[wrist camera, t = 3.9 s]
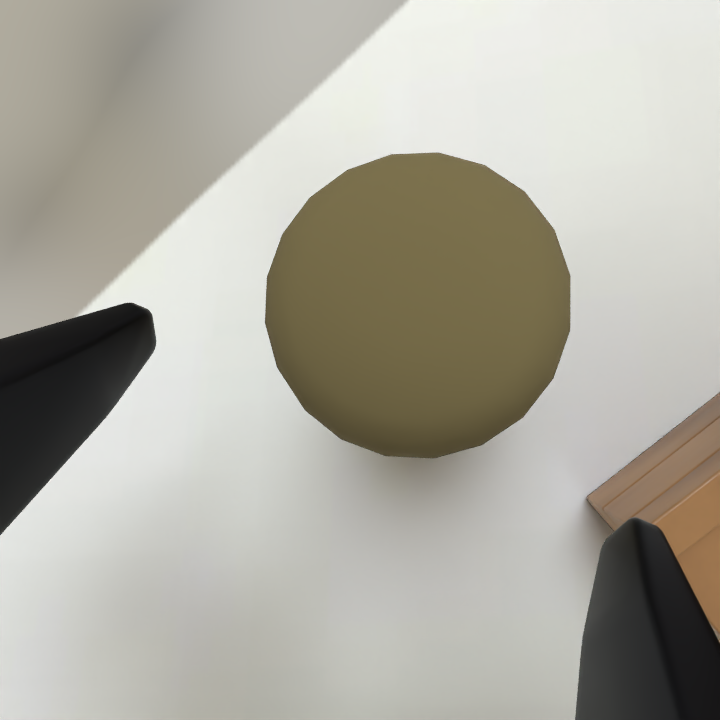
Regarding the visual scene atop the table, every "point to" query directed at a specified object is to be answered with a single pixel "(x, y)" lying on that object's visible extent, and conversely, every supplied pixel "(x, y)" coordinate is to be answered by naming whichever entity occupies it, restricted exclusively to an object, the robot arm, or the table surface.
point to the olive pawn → (418, 305)
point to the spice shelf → (677, 500)
